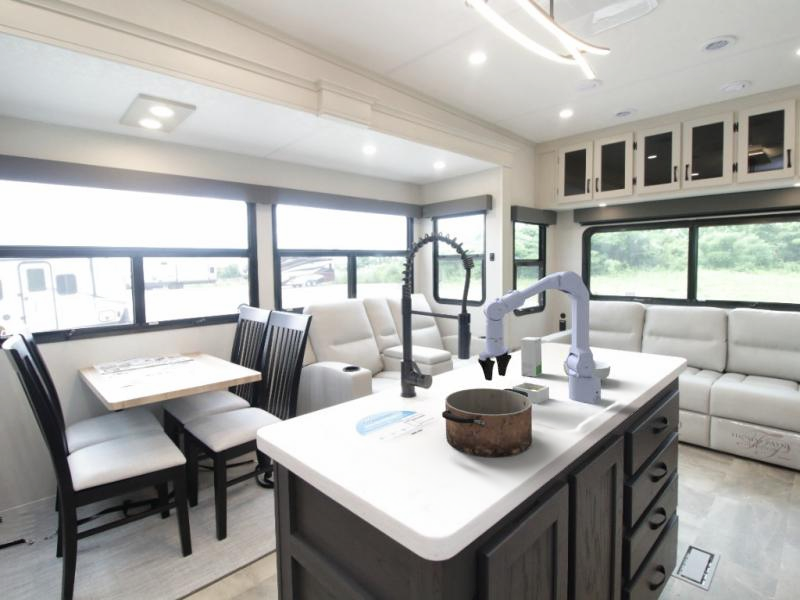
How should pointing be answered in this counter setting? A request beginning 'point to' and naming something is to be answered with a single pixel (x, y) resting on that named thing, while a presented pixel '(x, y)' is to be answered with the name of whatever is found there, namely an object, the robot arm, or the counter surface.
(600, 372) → the cereal bowl
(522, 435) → the cooking pot
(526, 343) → the skincare box
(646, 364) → the counter surface
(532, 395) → the tub
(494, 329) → the robot arm
